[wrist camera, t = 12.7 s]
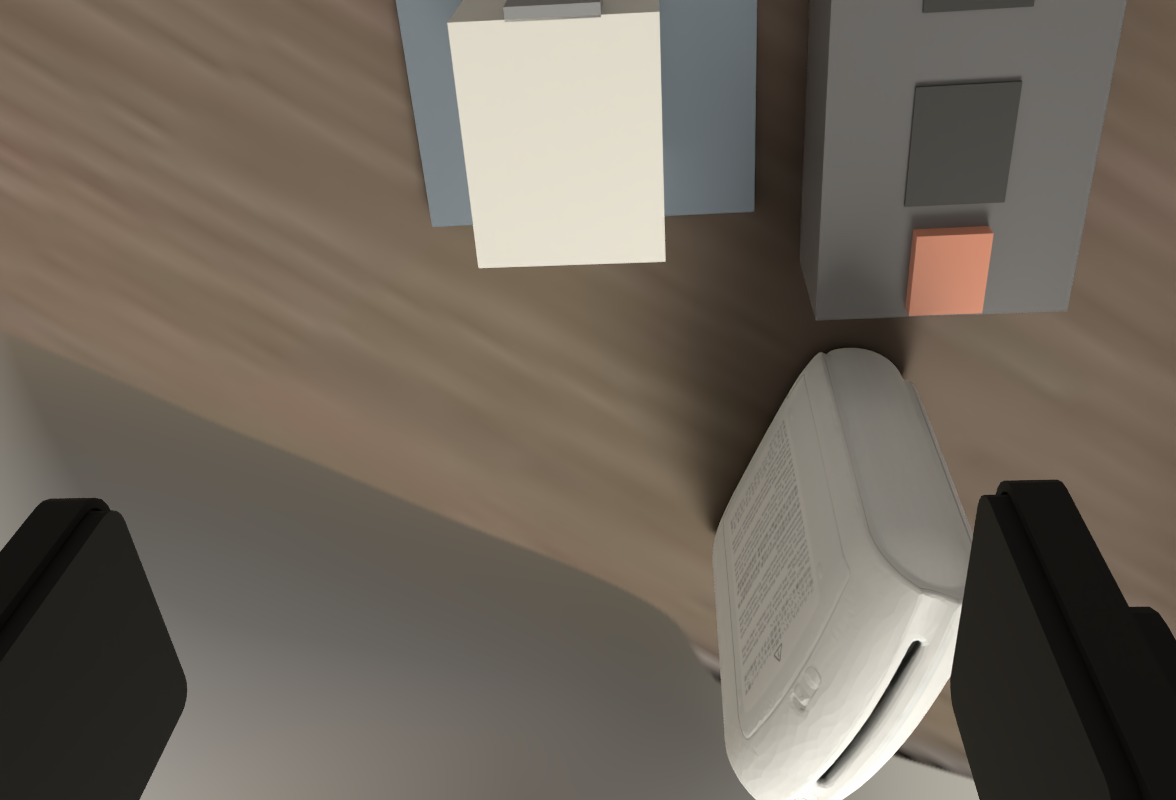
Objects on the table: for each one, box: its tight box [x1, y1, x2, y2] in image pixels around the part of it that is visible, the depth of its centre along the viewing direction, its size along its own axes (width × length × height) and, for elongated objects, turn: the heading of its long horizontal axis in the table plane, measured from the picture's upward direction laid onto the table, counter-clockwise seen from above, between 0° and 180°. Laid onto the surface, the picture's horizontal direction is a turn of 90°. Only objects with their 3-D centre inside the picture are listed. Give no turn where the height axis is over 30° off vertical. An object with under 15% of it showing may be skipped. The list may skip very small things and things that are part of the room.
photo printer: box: [712, 348, 973, 800], centre depth 33 cm, size 10×4×12 cm, turn 161°
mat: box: [396, 0, 757, 227], centre depth 30 cm, size 10×10×1 cm
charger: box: [447, 0, 665, 268], centre depth 27 cm, size 4×6×8 cm
